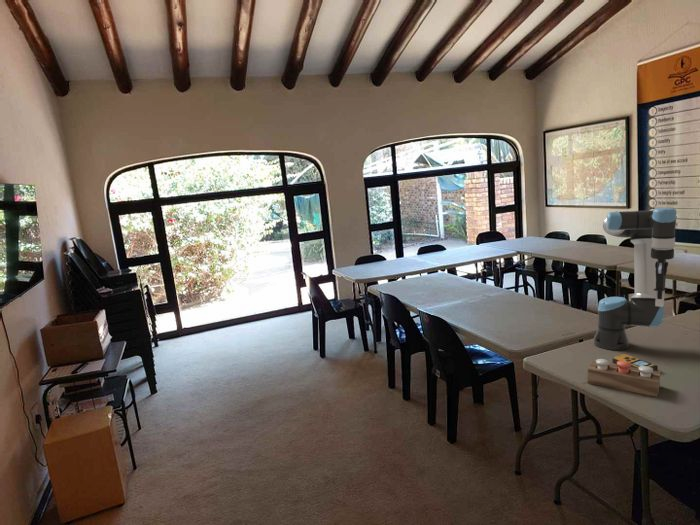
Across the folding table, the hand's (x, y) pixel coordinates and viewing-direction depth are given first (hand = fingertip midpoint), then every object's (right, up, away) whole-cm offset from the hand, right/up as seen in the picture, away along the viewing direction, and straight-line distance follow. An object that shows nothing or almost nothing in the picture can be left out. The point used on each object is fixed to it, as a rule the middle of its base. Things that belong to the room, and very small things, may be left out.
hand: (659, 305), depth 183 cm
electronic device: (+1, -29, +17) cm, 34 cm away
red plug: (-13, -30, +2) cm, 33 cm away
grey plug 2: (-7, -32, -2) cm, 32 cm away
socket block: (-13, -32, +3) cm, 35 cm away
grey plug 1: (-19, -31, +7) cm, 37 cm away
